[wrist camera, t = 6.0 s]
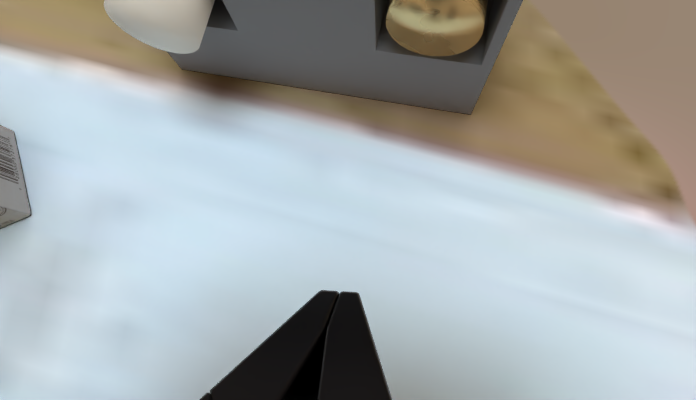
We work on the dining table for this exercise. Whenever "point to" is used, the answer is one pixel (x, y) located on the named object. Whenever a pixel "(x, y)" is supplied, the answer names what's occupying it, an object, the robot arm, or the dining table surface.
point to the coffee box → (11, 181)
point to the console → (344, 51)
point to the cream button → (163, 22)
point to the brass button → (436, 25)
